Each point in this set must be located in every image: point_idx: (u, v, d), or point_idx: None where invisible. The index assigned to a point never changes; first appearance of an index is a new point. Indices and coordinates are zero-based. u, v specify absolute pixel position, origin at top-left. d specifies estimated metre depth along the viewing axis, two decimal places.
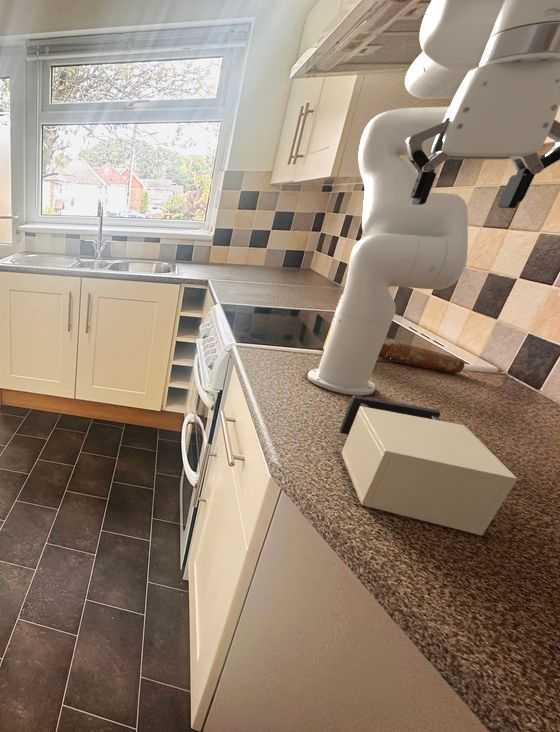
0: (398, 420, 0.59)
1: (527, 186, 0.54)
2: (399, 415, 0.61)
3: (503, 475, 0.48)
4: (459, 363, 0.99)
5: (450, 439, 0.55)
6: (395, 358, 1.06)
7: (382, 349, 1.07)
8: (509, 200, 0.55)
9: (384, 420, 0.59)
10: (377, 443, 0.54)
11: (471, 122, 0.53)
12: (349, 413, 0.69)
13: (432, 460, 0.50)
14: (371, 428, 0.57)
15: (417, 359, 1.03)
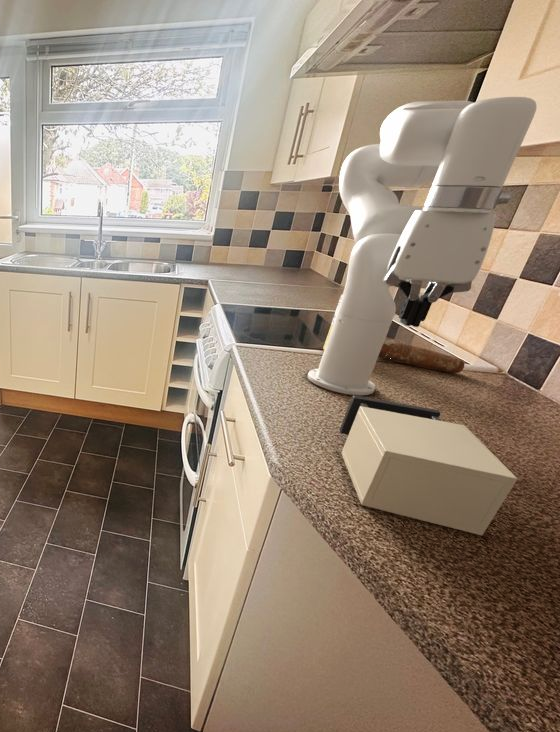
0: (398, 420, 0.59)
1: (427, 310, 0.65)
2: (399, 415, 0.61)
3: (503, 475, 0.48)
4: (459, 363, 0.99)
5: (450, 439, 0.55)
6: (395, 358, 1.06)
7: (382, 349, 1.07)
8: (413, 320, 0.66)
9: (384, 420, 0.59)
10: (377, 443, 0.54)
11: (417, 254, 0.62)
12: (349, 413, 0.69)
13: (432, 460, 0.50)
14: (371, 428, 0.57)
15: (417, 359, 1.03)
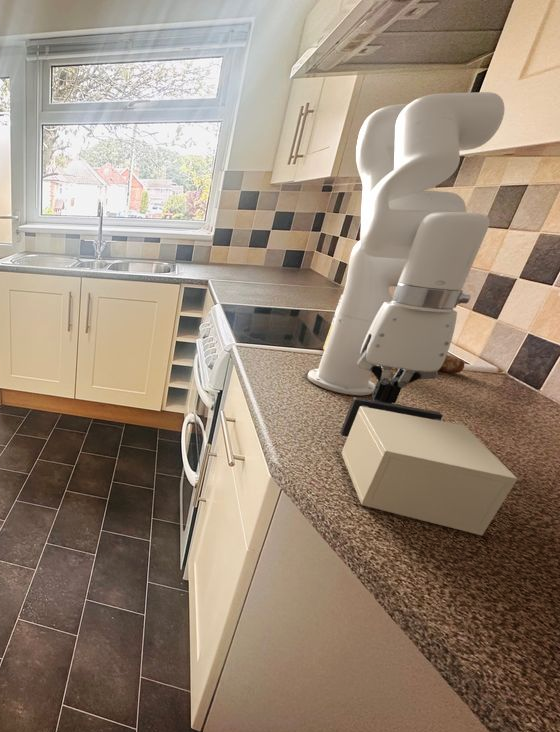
0: (398, 420, 0.59)
1: (397, 394, 0.69)
2: (399, 415, 0.61)
3: (503, 475, 0.48)
4: (459, 363, 0.99)
5: (450, 439, 0.55)
6: None
7: None
8: (385, 402, 0.70)
9: (384, 420, 0.59)
10: (377, 443, 0.54)
11: (386, 344, 0.67)
12: (350, 415, 0.68)
13: (432, 460, 0.50)
14: (371, 428, 0.57)
15: None
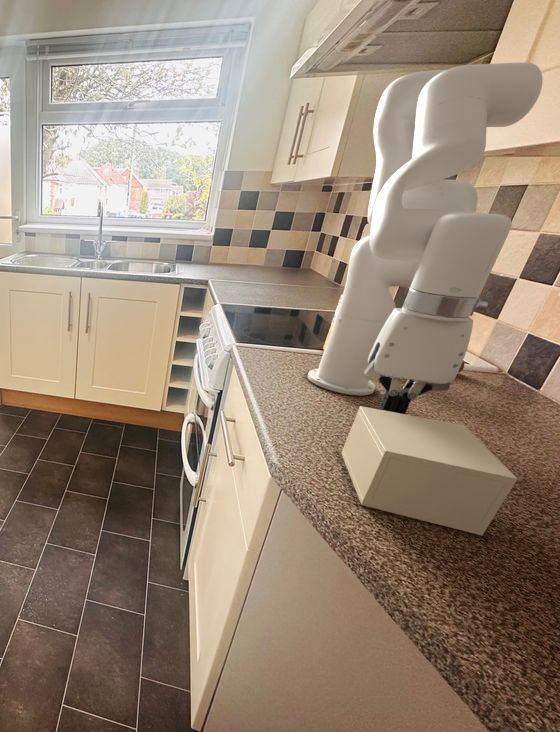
0: (398, 420, 0.59)
1: (407, 406, 0.65)
2: (399, 415, 0.61)
3: (503, 475, 0.48)
4: None
5: (450, 439, 0.55)
6: None
7: None
8: None
9: (384, 420, 0.59)
10: (377, 443, 0.54)
11: (396, 354, 0.62)
12: None
13: (432, 460, 0.50)
14: (371, 428, 0.57)
15: None
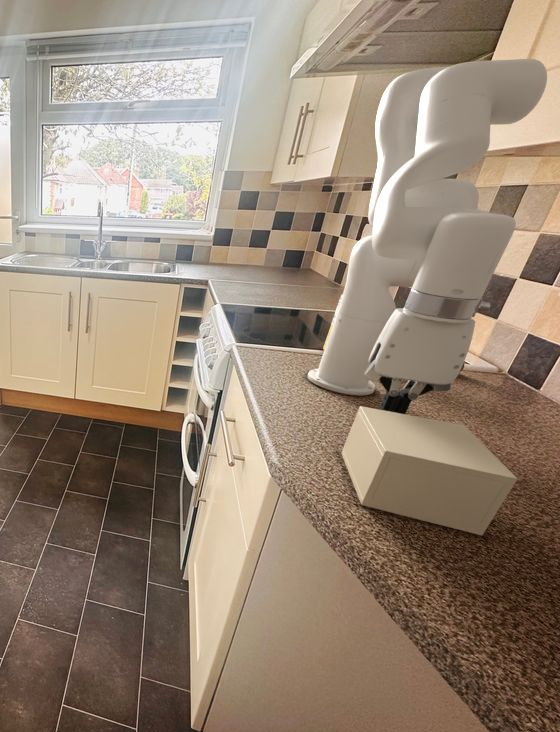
0: (398, 420, 0.59)
1: (407, 406, 0.65)
2: (399, 415, 0.61)
3: (503, 475, 0.48)
4: None
5: (450, 439, 0.55)
6: None
7: None
8: None
9: (384, 420, 0.59)
10: (377, 443, 0.54)
11: (396, 355, 0.62)
12: None
13: (432, 460, 0.50)
14: (371, 428, 0.57)
15: None
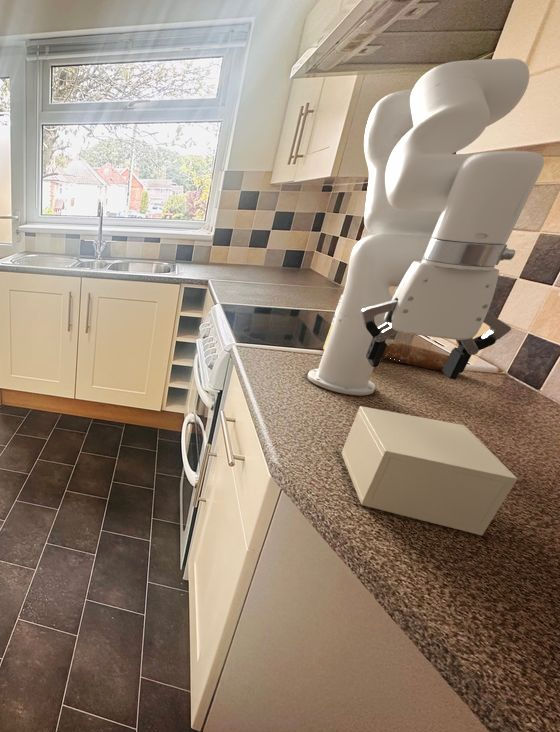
0: (398, 420, 0.59)
1: (465, 362, 0.60)
2: (399, 415, 0.61)
3: (503, 475, 0.48)
4: None
5: (450, 439, 0.55)
6: (395, 358, 1.06)
7: None
8: (450, 372, 0.61)
9: (384, 420, 0.59)
10: (377, 443, 0.54)
11: (415, 309, 0.59)
12: None
13: (432, 460, 0.50)
14: (371, 428, 0.57)
15: (417, 359, 1.03)
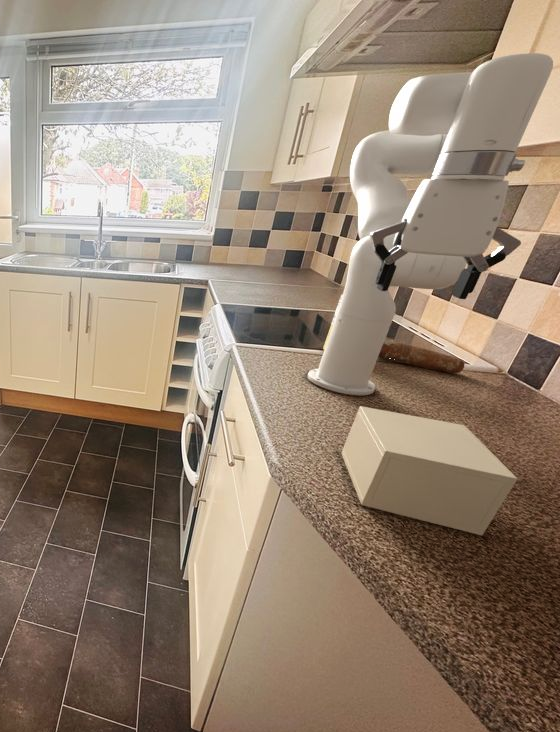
0: (398, 420, 0.59)
1: (475, 281, 0.60)
2: (399, 415, 0.61)
3: (503, 475, 0.48)
4: (459, 363, 0.99)
5: (450, 439, 0.55)
6: (395, 358, 1.06)
7: (382, 349, 1.07)
8: (460, 292, 0.61)
9: (384, 420, 0.59)
10: (377, 443, 0.54)
11: (425, 226, 0.59)
12: None
13: (432, 460, 0.50)
14: (371, 428, 0.57)
15: (417, 359, 1.03)
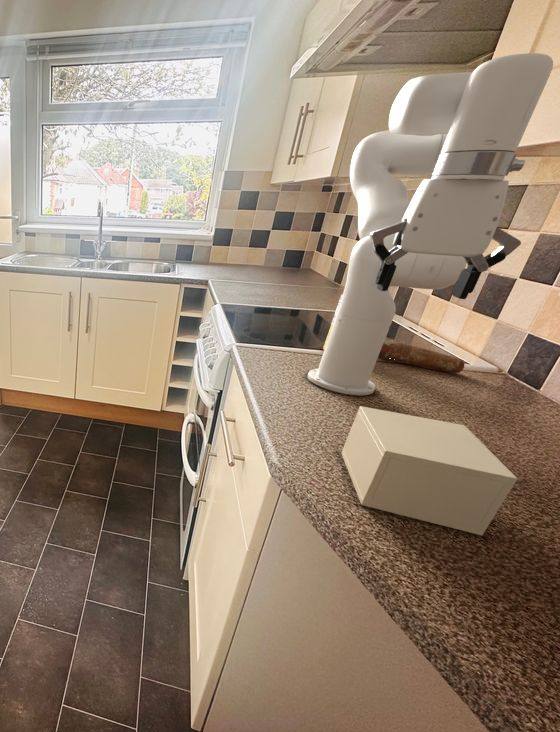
0: (398, 420, 0.59)
1: (475, 281, 0.60)
2: (399, 415, 0.61)
3: (503, 475, 0.48)
4: (459, 363, 0.99)
5: (450, 439, 0.55)
6: (395, 358, 1.06)
7: (382, 349, 1.07)
8: (460, 292, 0.61)
9: (384, 420, 0.59)
10: (377, 443, 0.54)
11: (425, 226, 0.59)
12: None
13: (432, 460, 0.50)
14: (371, 428, 0.57)
15: (417, 359, 1.03)
